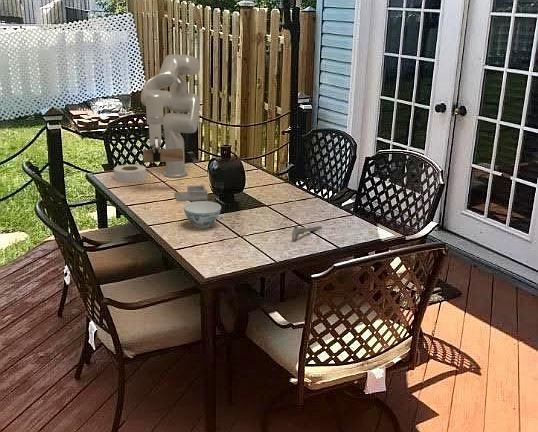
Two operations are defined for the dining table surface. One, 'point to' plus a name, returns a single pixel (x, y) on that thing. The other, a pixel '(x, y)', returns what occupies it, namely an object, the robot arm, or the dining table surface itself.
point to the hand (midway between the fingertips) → (156, 159)
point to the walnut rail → (164, 155)
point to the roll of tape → (130, 173)
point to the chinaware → (202, 213)
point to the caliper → (302, 231)
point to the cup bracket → (192, 193)
